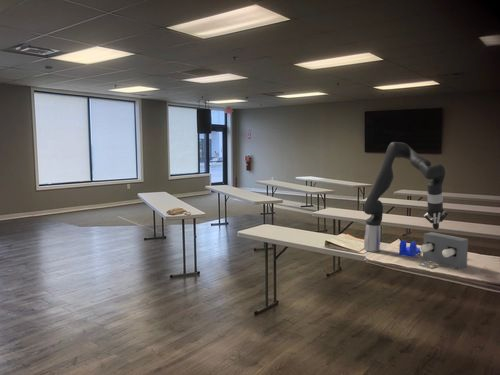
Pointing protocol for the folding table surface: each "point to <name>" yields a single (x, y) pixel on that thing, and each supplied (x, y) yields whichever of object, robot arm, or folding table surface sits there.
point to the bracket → (408, 249)
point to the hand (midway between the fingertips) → (435, 228)
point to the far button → (427, 247)
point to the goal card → (428, 265)
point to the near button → (449, 252)
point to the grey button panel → (446, 243)
